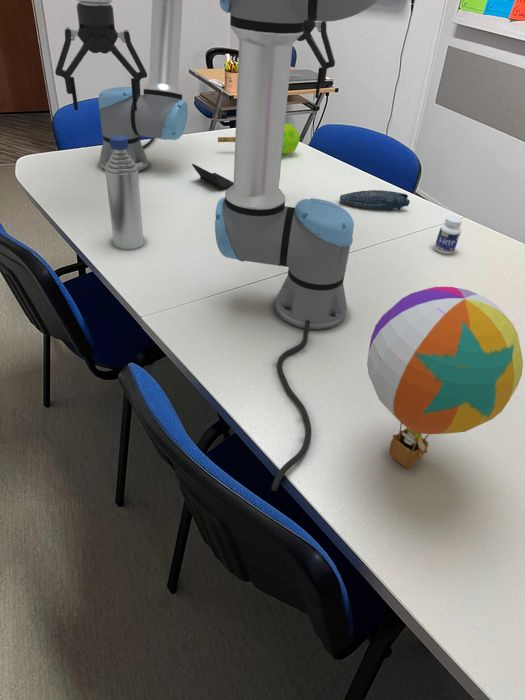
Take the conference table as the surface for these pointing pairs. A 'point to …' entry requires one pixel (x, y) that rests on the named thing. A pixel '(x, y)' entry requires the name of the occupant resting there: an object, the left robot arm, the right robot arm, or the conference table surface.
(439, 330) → the toy
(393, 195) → the fish model
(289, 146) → the decorative tree
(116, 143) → the cap
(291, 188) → the conference table surface
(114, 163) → the bottle
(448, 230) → the pill bottle
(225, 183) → the handheld gaming console
